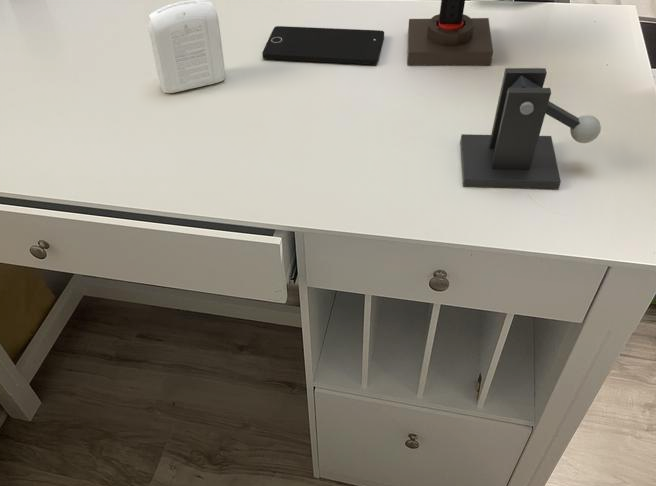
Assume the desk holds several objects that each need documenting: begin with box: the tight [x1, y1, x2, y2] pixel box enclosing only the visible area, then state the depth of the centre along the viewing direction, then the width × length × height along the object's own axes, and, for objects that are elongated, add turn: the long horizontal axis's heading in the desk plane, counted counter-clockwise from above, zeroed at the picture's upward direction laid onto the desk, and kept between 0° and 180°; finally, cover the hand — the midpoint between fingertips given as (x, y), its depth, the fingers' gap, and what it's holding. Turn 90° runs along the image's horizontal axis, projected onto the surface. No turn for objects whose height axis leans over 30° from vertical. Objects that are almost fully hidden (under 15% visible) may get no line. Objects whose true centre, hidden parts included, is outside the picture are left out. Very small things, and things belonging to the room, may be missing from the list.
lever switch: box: [507, 76, 602, 144], centre depth 77 cm, size 12×3×3 cm
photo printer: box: [147, 0, 226, 94], centre depth 97 cm, size 10×4×12 cm, turn 106°
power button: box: [438, 20, 464, 30], centre depth 99 cm, size 4×4×2 cm
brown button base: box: [406, 13, 494, 66], centre depth 100 cm, size 12×10×4 cm
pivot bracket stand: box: [459, 67, 562, 190], centre depth 79 cm, size 11×9×12 cm
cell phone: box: [261, 25, 385, 66], centre depth 105 cm, size 9×18×1 cm, turn 75°
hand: (450, 21), depth 99 cm, fingers closed
